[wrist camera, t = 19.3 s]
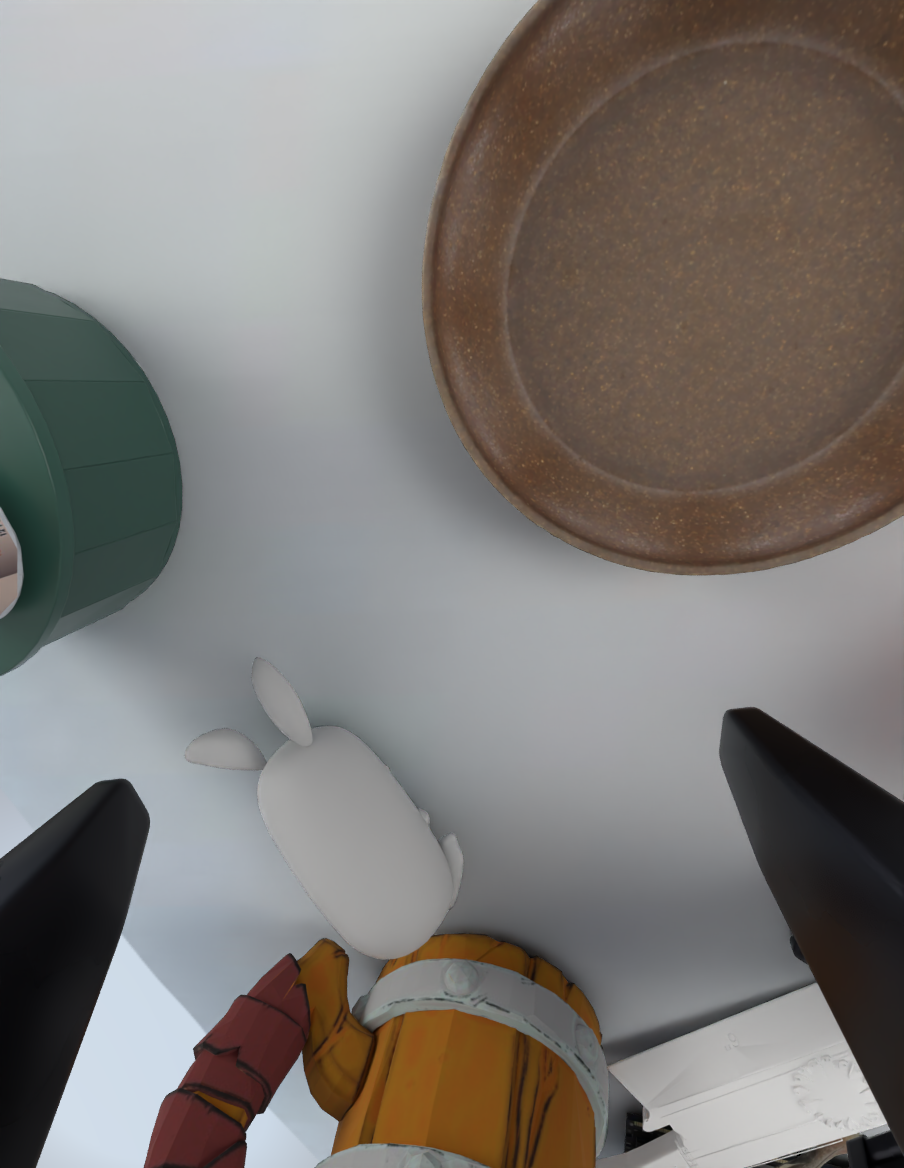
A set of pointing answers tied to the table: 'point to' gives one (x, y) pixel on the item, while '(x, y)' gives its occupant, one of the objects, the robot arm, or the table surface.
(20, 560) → the beer can
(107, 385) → the dark green flat cylinder
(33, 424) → the lid
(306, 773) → the rabbit figurine
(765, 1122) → the white flat slab
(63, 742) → the table surface
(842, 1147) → the fish
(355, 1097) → the mug
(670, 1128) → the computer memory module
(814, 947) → the robot arm
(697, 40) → the saucer
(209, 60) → the table surface
